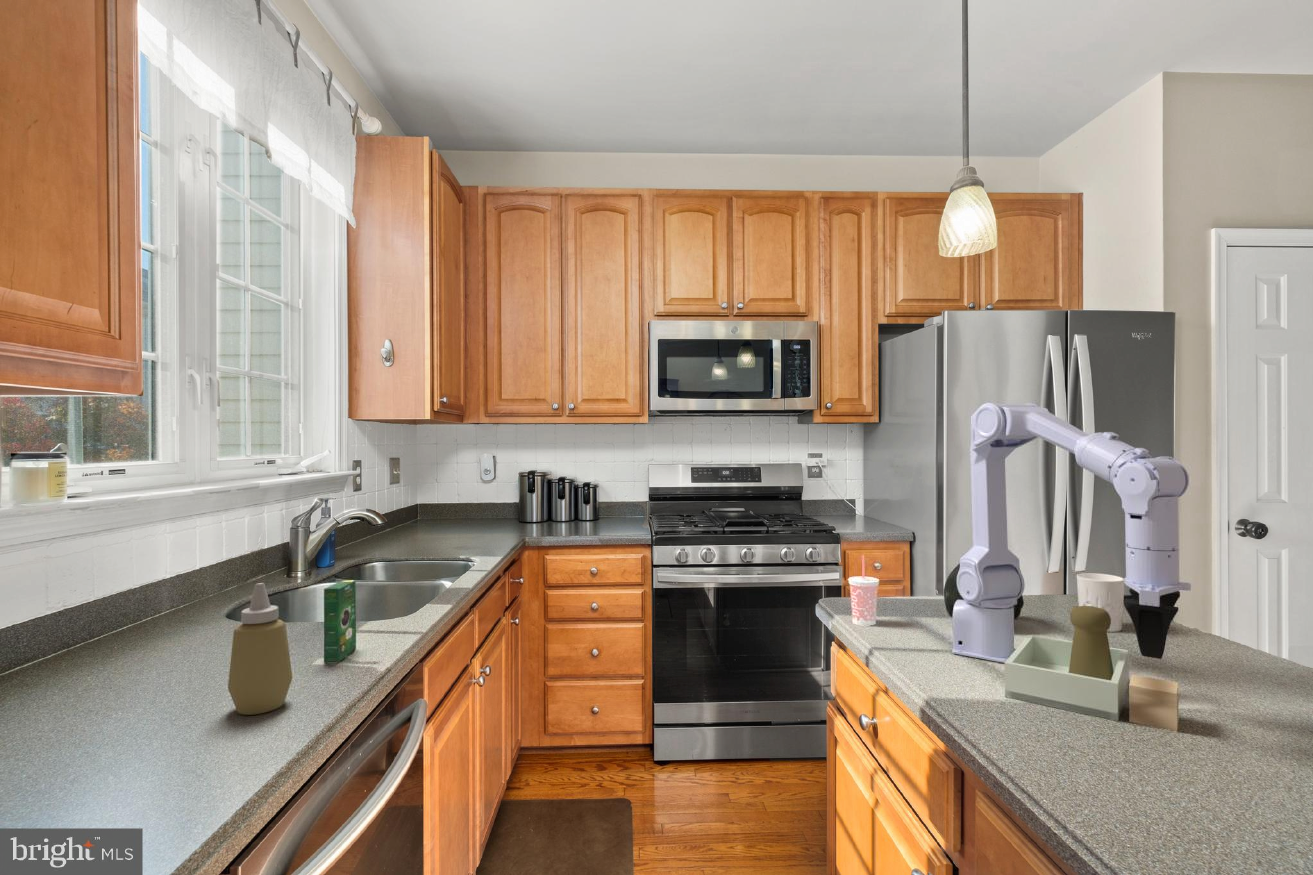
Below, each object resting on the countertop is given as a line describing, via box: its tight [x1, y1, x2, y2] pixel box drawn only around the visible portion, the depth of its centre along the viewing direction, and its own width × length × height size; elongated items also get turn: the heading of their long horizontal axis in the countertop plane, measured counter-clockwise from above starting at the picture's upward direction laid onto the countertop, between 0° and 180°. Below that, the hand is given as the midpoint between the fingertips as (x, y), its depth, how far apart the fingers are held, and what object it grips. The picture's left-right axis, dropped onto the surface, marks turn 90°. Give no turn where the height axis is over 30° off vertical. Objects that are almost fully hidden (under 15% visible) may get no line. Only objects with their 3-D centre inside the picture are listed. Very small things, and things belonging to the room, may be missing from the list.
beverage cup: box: [847, 554, 880, 627], centre depth 136 cm, size 6×6×14 cm
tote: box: [1004, 634, 1130, 722], centre depth 99 cm, size 14×18×5 cm
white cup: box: [1076, 572, 1125, 633], centre depth 131 cm, size 8×8×10 cm
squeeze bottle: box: [227, 582, 293, 716], centre depth 96 cm, size 8×8×18 cm
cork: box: [1069, 605, 1114, 681], centre depth 100 cm, size 6×6×11 cm
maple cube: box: [1128, 674, 1180, 732], centre depth 88 cm, size 5×5×5 cm
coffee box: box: [323, 579, 357, 664], centre depth 119 cm, size 8×3×13 cm, turn 4°
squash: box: [943, 562, 1025, 621], centre depth 135 cm, size 14×15×15 cm
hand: (1153, 649), depth 88 cm, fingers open, 7 cm apart
